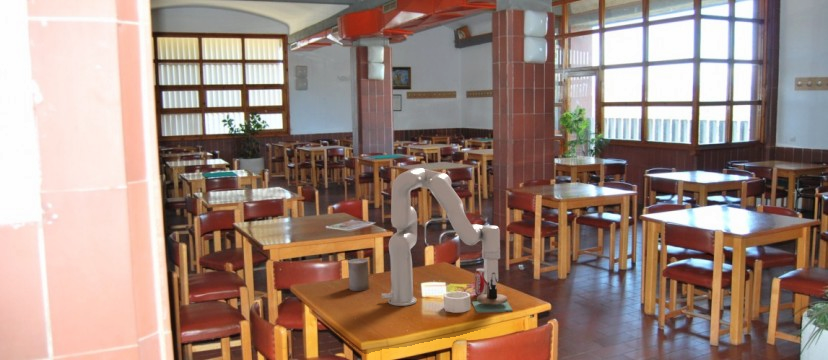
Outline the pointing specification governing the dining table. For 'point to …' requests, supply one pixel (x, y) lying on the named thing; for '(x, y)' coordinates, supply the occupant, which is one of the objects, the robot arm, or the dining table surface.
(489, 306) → the rubber mat
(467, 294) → the ceramic bowl
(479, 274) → the soda can
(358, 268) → the pillar candle
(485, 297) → the walnut lid
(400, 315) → the dining table surface
